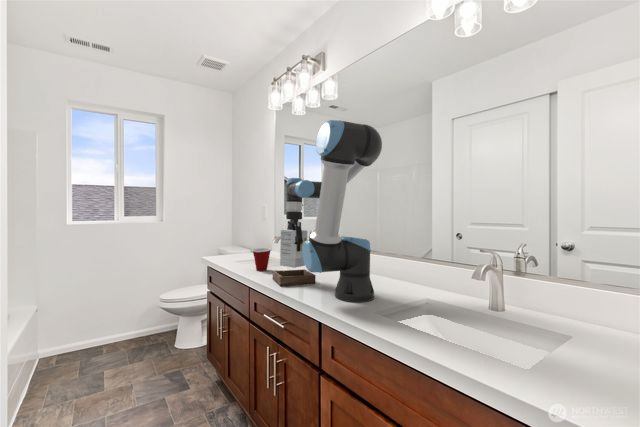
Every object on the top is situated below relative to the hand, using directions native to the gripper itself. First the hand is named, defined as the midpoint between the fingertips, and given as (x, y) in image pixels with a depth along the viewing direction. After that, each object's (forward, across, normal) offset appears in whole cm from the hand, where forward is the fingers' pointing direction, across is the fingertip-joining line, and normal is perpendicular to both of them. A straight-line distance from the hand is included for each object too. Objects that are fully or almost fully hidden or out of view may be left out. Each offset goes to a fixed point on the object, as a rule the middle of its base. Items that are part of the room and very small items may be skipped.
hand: (293, 256), depth 144 cm
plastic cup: (+12, +33, +9) cm, 36 cm away
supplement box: (+4, 0, 0) cm, 4 cm away
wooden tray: (+12, 0, 0) cm, 12 cm away
